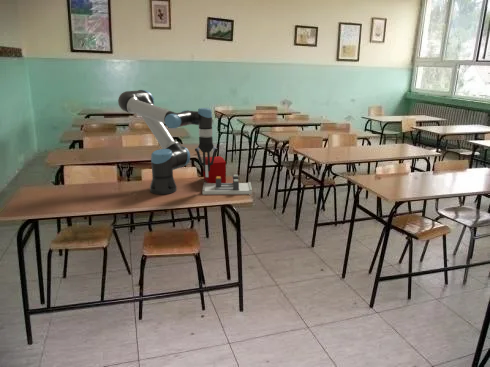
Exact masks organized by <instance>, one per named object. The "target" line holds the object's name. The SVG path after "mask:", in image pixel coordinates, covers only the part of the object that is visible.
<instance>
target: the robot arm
mask: <svg viewBox="0 0 490 367" xmlns="http://www.w3.org/2000/svg"><path fill="white" fill-rule="evenodd" d="M117 103H118V106H119V108H120V109H121V110H122V111H123V112H126V113H128V114H132V115H133V114H136V115H137V116H138V117H141V118H142V119H143V121H144V122H145V124H146V126H148V128H149V130H150V131H151V132H150V133H152V135H153V136H154V138H155V139H156V141H157V142H158V144H159V145H160V146H161V149H157V150H154V151H153V152H152V153H151V156H150V157H151V158H150V163H151V174H152V176H151V177H152V178H151V183H150V186H149V191H150V193H152V194H154V195H169V194H173V193H176V191H177V190H178V189H177V184H176V182H175V181H176V180H175V178H174V170H177V169H180V168H184V167H185V166H188V164H189V163H190V160H191V153H190V151H189V149H188V148H187V147H185V146H182V145H181V144H180V142H179V141H175V139H174V137H173V136H172V135H171V133H170V132H169V130H168V128H170V129H177V128H181V127H186V126H190V125H195V126H198V136H199V137H198V144H199V145H198V146H197V147H195V148H194V152H196V155H197V159H198V162H199V165H200V166H202V172H203V171H205V174H206V177H208V171H210V165H213V162H214V157H216V153H217V151H218V147H216V146H215V145H214V142H213V140H214V139H213V114H212V112H213V111H212V108H210V107H200V108H198V110H197V111H195V110H187V109H186V110H181V111H180V112H174V111H171V110H170V109H166V108H162V107H159V106H157V105H155V97H154V96H153V94H152V93H151V92H150V91H148V90H146V89H145V90H144V89H138V90H127V91H123V92H122V93H120V95H119V96H118V98H117ZM200 151H201V152H202V157H201V154H200ZM212 151H213V152H212ZM211 152H212V156H211ZM206 153H207V155H206ZM205 157H208V165H205ZM210 157H212V161H211V163H210Z"/></svg>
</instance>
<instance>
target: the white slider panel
mask: <svg viewBox="0 0 490 367" xmlns="http://www.w3.org/2000/svg"><path fill="white" fill-rule="evenodd" d="M202 195H253V189H252V183H251V181H248V182H240V180H239V175H238V174H233V176H232V182H226V183H221V187H216V183H207V182H206V181H205V182H203V185H202Z"/></svg>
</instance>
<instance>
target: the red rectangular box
mask: <svg viewBox="0 0 490 367" xmlns="http://www.w3.org/2000/svg"><path fill="white" fill-rule="evenodd" d="M211 161H212V156H210V163H211ZM205 165H208V157H207V156H205ZM202 172H203V174H202V175H203V179H204V181H205V182H206V183H216V177H217V176H221V183H227V162H226V160H225V158H223V157H222V156H221V155H220V156H219V155H218V156H216V155H215V157H214V162H213V165H210V171H208V177H206V174H205V171H203V170H202Z"/></svg>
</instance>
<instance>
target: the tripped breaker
mask: <svg viewBox="0 0 490 367" xmlns="http://www.w3.org/2000/svg"><path fill="white" fill-rule="evenodd" d="M216 187H221V176H217V177H216Z"/></svg>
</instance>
